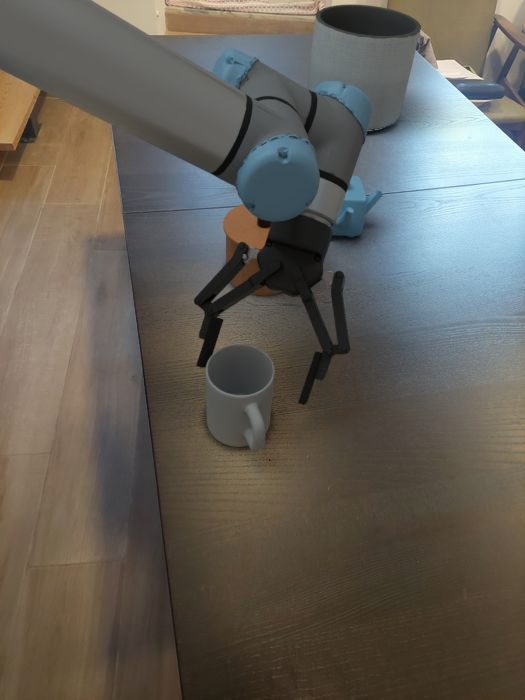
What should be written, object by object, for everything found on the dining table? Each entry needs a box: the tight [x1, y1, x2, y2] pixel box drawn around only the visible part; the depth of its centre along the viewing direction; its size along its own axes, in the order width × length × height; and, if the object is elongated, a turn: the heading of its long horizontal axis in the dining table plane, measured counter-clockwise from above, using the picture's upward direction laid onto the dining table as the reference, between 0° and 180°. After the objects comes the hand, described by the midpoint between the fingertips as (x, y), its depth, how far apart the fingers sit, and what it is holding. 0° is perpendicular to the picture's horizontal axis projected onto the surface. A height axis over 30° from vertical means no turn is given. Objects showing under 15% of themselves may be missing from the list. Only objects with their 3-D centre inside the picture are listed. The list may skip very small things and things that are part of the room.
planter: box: [306, 4, 422, 133], centre depth 128 cm, size 25×25×22 cm
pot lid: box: [222, 203, 272, 251], centre depth 82 cm, size 13×13×4 cm
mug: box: [204, 343, 276, 453], centre depth 64 cm, size 12×8×11 cm
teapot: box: [330, 175, 384, 238], centre depth 97 cm, size 18×14×10 cm
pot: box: [225, 234, 281, 296], centre depth 87 cm, size 12×12×10 cm
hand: (251, 384), depth 63 cm, fingers open, 13 cm apart
